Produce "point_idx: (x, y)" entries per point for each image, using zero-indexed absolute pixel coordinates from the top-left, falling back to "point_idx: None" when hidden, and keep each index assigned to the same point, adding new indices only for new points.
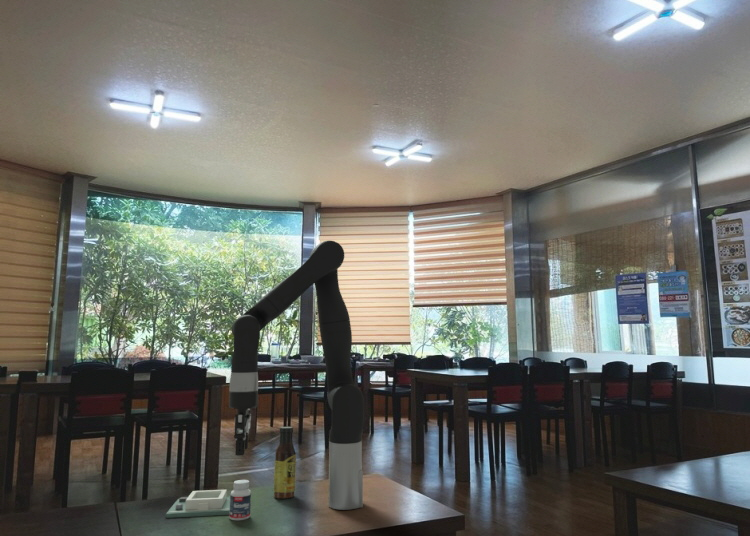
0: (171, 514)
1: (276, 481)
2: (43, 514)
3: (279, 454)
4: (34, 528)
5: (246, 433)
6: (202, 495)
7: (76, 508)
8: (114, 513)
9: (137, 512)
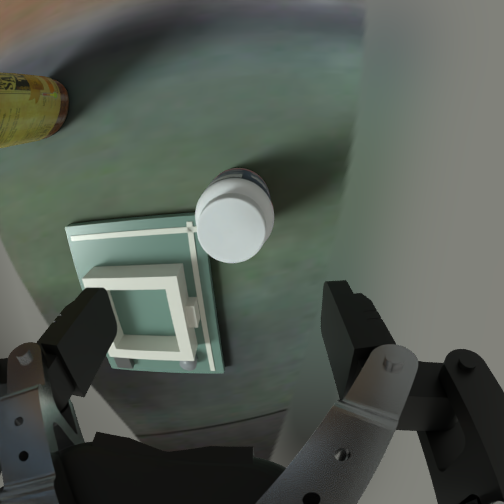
0: (223, 363)
1: (32, 129)
2: None
3: None
4: None
5: (51, 366)
6: None
7: None
8: (193, 432)
9: (186, 410)
